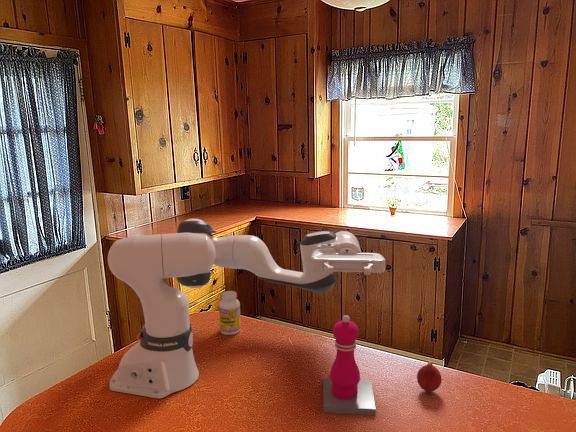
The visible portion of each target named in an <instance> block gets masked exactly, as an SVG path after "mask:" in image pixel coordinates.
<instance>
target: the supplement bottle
mask: <svg viewBox="0 0 576 432" xmlns="http://www.w3.org/2000/svg"><path fill="white" fill-rule="evenodd" d="M237 294H238V293H237V292H236V291H235V290H225V291H223V292H221V300H220V301H219V303H218V314H219V315H218V317H219V318H218V319H219V320H218V321H219V331H220V333H221V334H222V335H226V336H230V335H231V336H233V335H236V334H238V333H239V332H240V330H241V303H240V301H239V300H238V298H237V296H238V295H237Z"/></svg>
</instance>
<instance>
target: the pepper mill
mask: <svg viewBox="0 0 576 432" xmlns="http://www.w3.org/2000/svg"><path fill="white" fill-rule="evenodd" d="M341 319H342V320H339V321H338V322H336V323H335V324H334V326H333V329H332V335H333V337H334V339H335V340H334V343H335V344H334V347H335V349H336V354H335V355H336V356H335V359H334V362H333V363H332V365H331V368H330V372H329V378H330V379H331V381H332V394H333V395H334V396H335V397H337V398H339V399H343V400H348V399H353V398H354V397H356V396H357V394H358V386H357V384H358V383H359V381H360V379H361V373H360V370H359V366H358V364H357V362H356V357H355V349H356V348H357V339H358V338H359V327H358V326H357V325H356V323H355V322H353V321H351V318H350V316H349V315H347V314H346V315H343V316H342V318H341Z"/></svg>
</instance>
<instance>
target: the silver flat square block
mask: <svg viewBox="0 0 576 432" xmlns="http://www.w3.org/2000/svg"><path fill="white" fill-rule="evenodd" d="M322 381H323V383H322V384H323V391H322V394H323V397H322V399H323V400H322V401H323V402H322V403H323V404H322V405H323V406H322V407H323V408H322V411H323V412H322V413H325V414H344V415H345V414H346V415H348V414H349V415H350V414H351V415H372V416H373V415H374V416H376V415H377V414H376V413H377V409H376V402H375V396H374V391H373V385H372V379H363V378H362V379H361V378H360V381H359V383H358V384H357V386H358V394H357V396H356V397H354V398H353V399H348V400H343V399H339V398H337V397H335V396H334V395H333V394H332V381H331V379H330V377H329V378H328V377H323V380H322Z"/></svg>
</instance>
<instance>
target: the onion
mask: <svg viewBox="0 0 576 432" xmlns="http://www.w3.org/2000/svg"><path fill="white" fill-rule="evenodd" d="M416 379H417V383H418V385H419V387H420V388H421V389H422V390H424V391H425V392H427V393H432V392H434V391H437V389H439V388H440V387H441V385H442V375H441V372H440V370H439V369H438V368H437V367H436V366H434V365H433V362H432V361H429V362H428V361H427V364H425V365H422V366H421V368H419V369H418V371H417V373H416Z"/></svg>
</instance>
